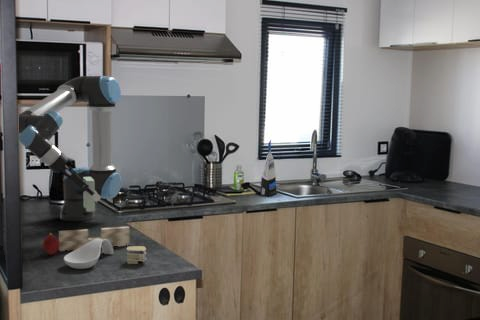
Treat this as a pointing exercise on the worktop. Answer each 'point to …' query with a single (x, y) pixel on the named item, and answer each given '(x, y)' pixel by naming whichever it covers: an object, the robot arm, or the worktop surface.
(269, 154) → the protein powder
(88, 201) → the notched piece
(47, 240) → the onion
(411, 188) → the worktop surface
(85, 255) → the spoon rest
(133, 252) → the pale yellow layered block
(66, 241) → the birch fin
